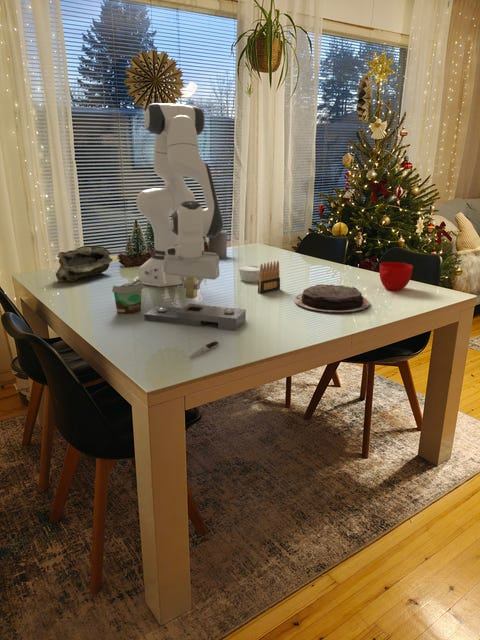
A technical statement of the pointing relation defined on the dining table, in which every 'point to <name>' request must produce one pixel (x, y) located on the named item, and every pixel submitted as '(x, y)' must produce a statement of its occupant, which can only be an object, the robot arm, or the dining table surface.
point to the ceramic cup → (395, 275)
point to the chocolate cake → (332, 299)
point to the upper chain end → (214, 315)
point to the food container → (128, 297)
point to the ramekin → (249, 273)
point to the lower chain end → (169, 316)
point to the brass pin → (191, 287)
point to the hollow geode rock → (82, 263)
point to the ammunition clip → (269, 278)
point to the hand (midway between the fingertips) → (191, 288)
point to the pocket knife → (204, 349)
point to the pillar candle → (219, 244)
